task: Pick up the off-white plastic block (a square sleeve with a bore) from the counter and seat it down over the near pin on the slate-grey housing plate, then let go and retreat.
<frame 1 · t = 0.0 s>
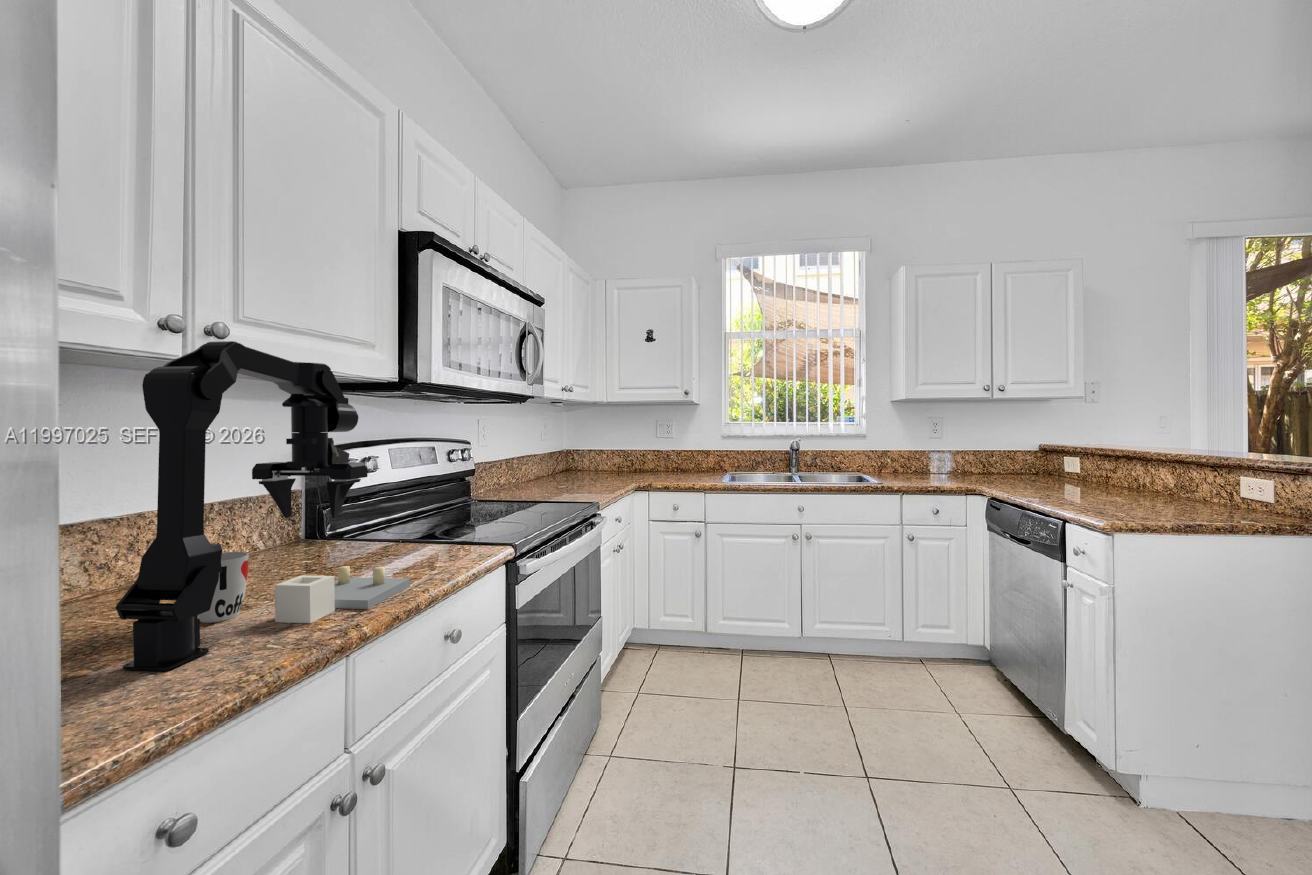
hand: (311, 518, 105), 15 cm above the countertop, fingers open, 9 cm apart
cup: (219, 618, 94), on the countertop
block: (305, 616, 94), on the countertop
housing plate: (354, 595, 106), on the countertop
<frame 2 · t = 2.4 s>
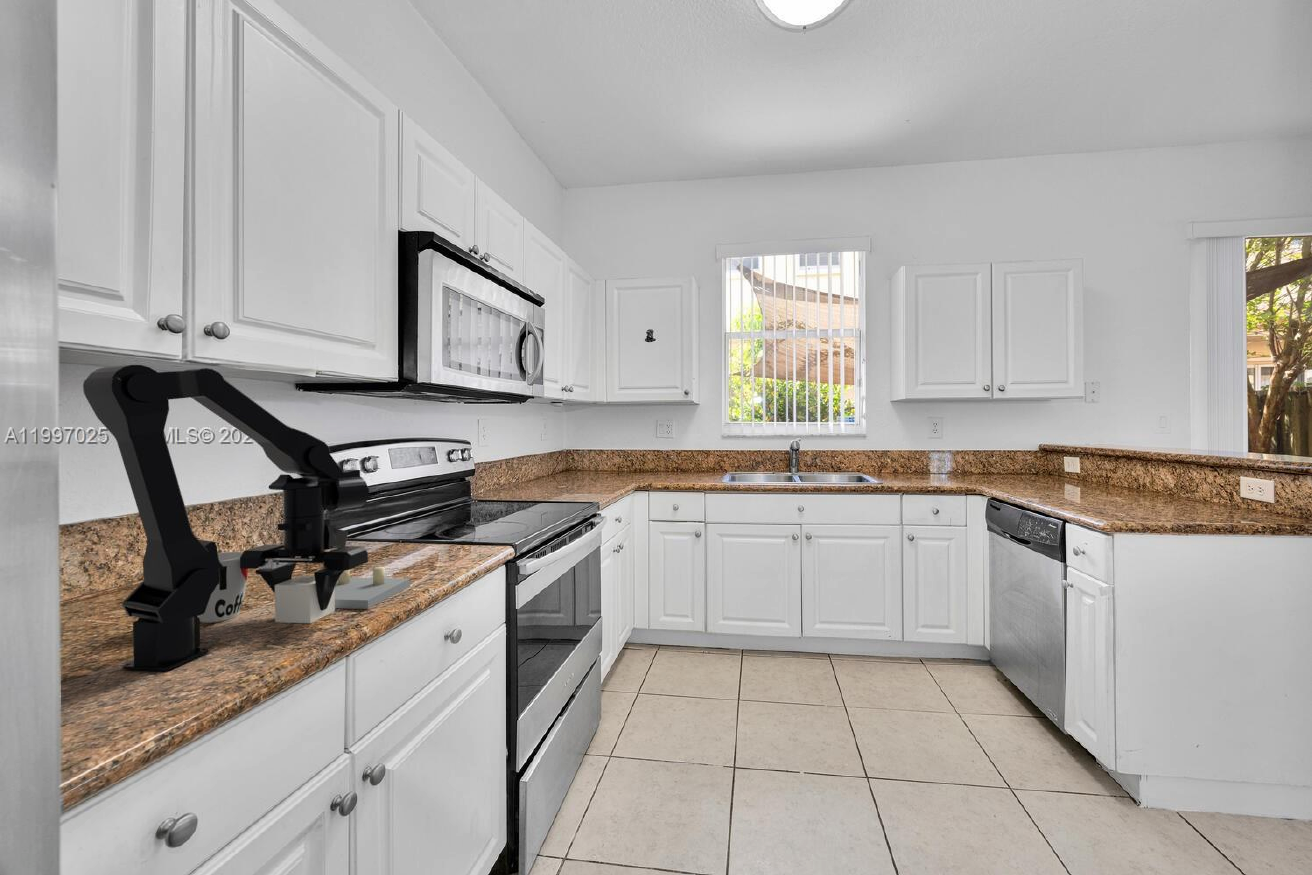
hand: (305, 609, 94), 1 cm above the countertop, fingers closed on block, 6 cm apart
block: (305, 616, 94), on the countertop, touching gripper
everything else where it was.
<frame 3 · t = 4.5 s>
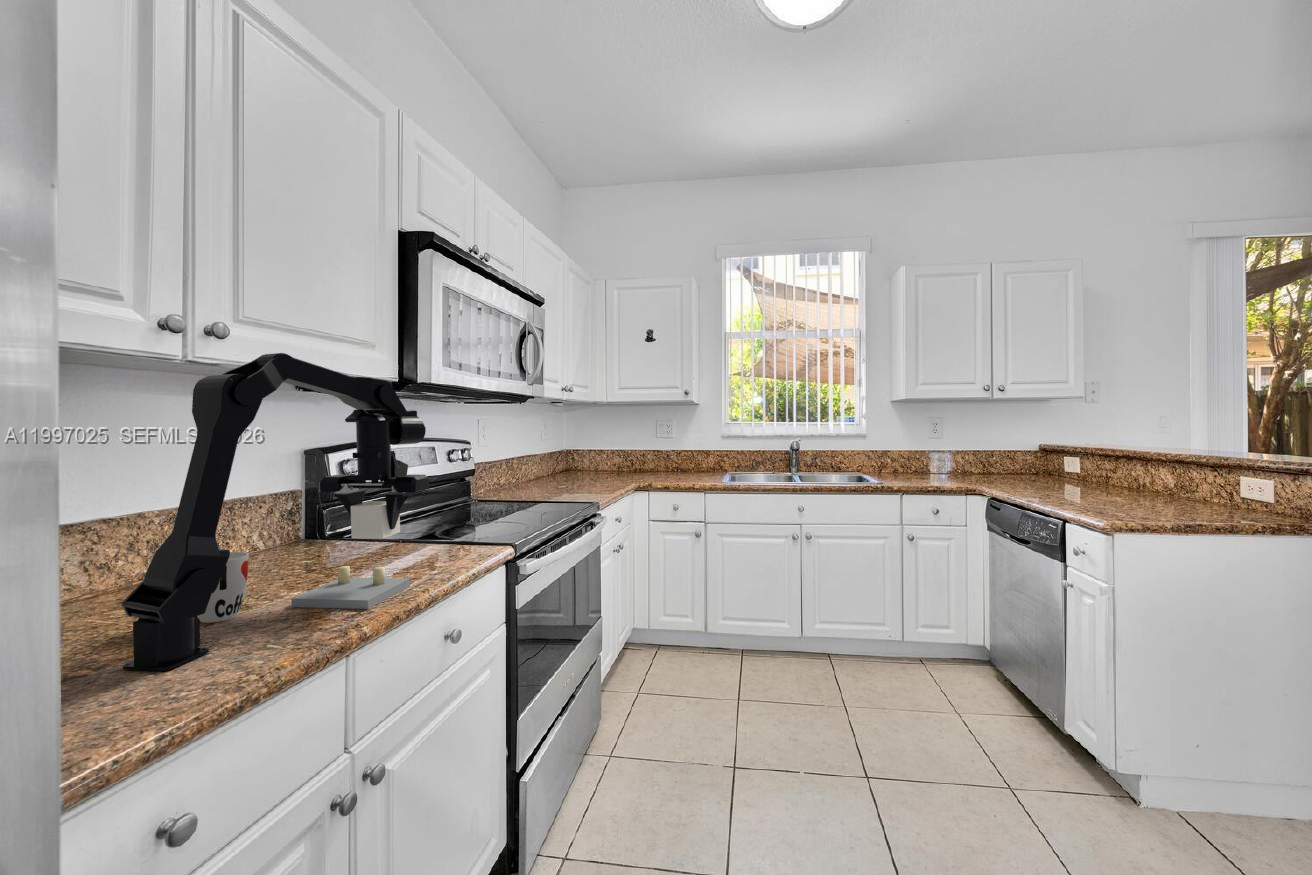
hand: (376, 528, 108), 12 cm above the countertop, fingers closed on block, 6 cm apart
block: (376, 535, 108), point 11 cm above the countertop, touching gripper
everything else where it was.
when the fingers open (3 cm above the countertop, at t = 6.7 s): block stays where it is, resting on housing plate.
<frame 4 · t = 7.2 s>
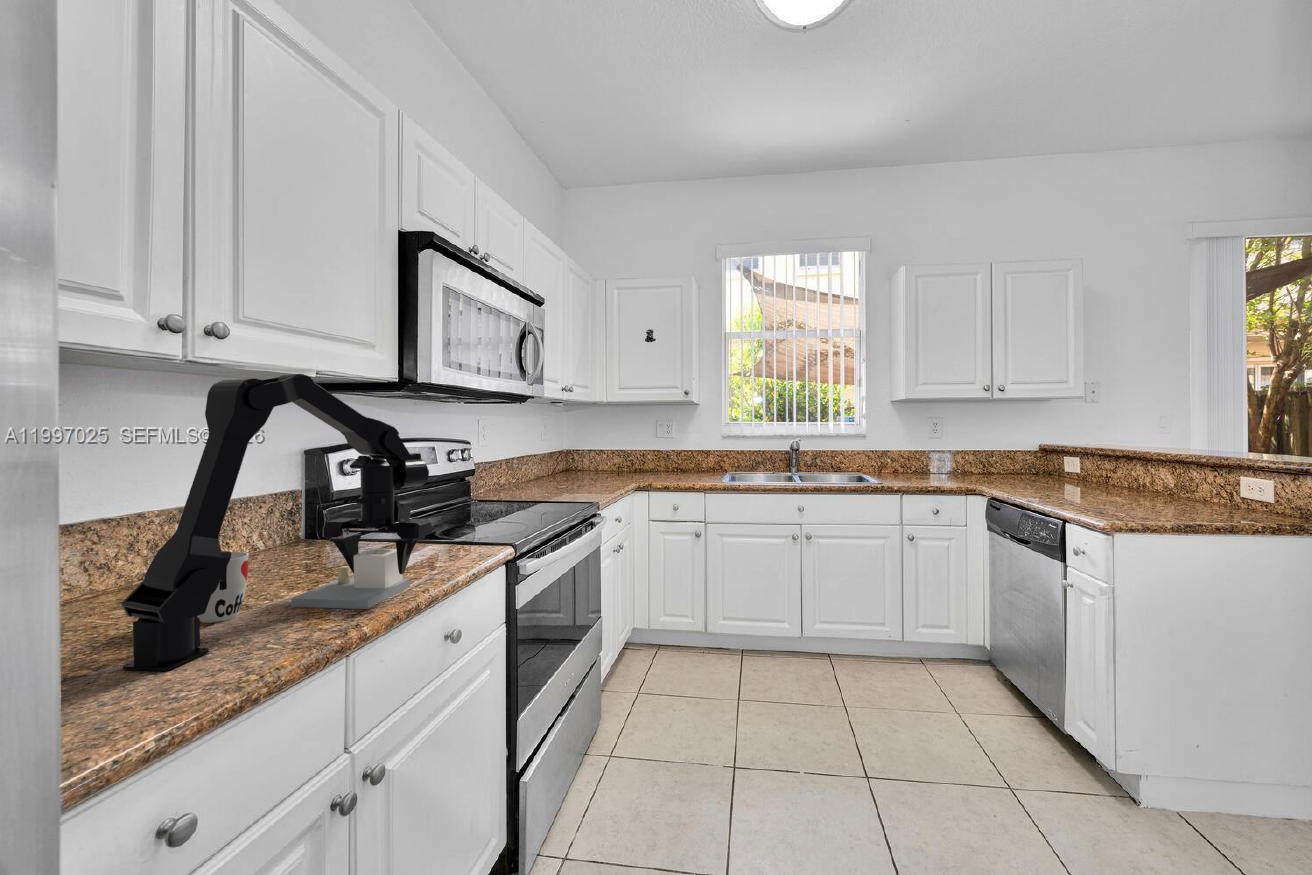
hand: (378, 573, 108), 3 cm above the countertop, fingers open, 9 cm apart
block: (378, 583, 109), point 1 cm above the countertop, touching housing plate
everything else where it was.
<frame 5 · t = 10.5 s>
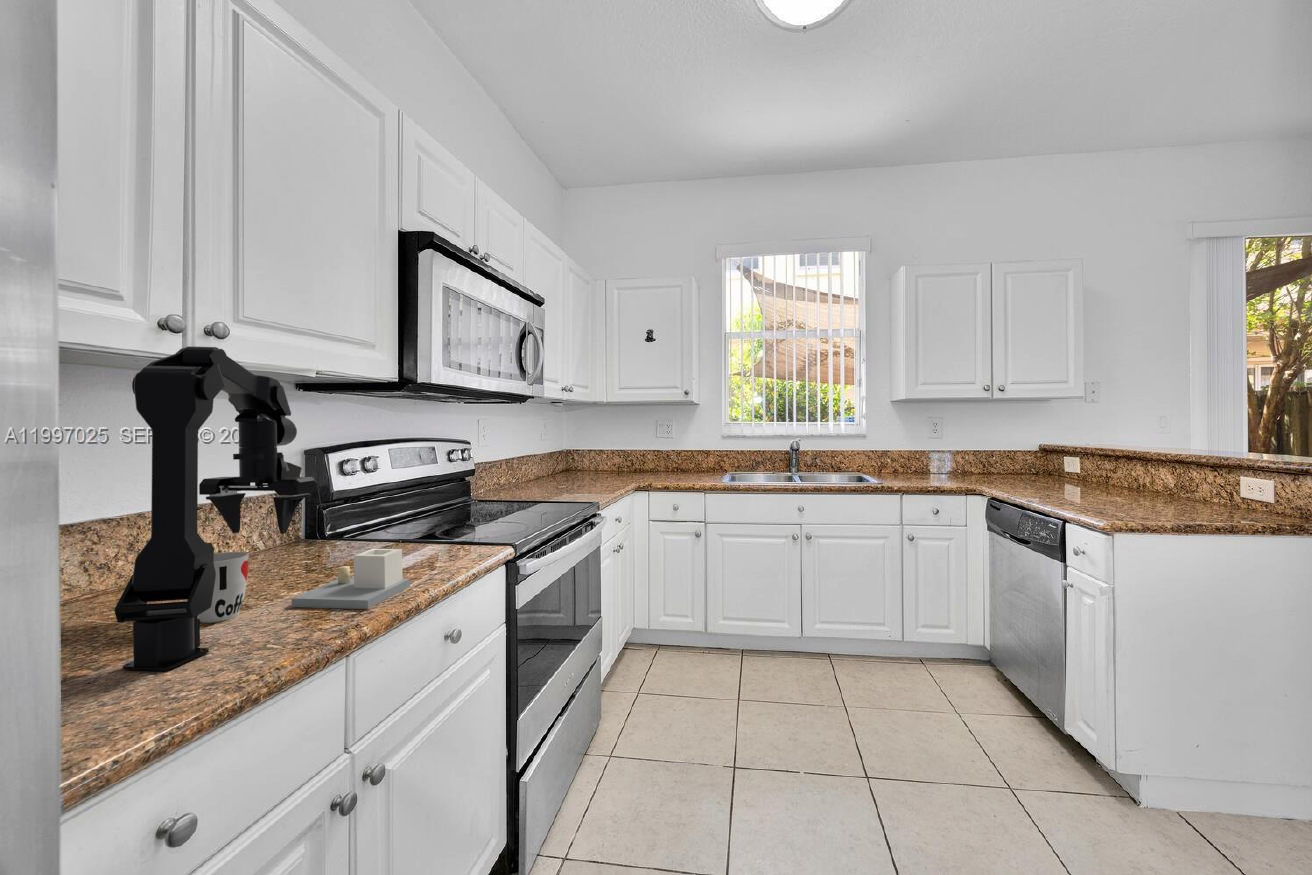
hand: (259, 533, 104), 12 cm above the countertop, fingers open, 9 cm apart
nothing on the countertop moved.
at the end: block 0.0 cm from the target spot on the housing plate, point 1.5 cm above the housing plate's base; block tilted 0°; the gripper is holding nothing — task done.
